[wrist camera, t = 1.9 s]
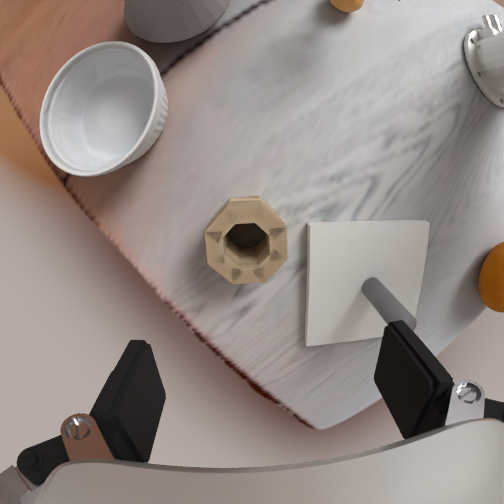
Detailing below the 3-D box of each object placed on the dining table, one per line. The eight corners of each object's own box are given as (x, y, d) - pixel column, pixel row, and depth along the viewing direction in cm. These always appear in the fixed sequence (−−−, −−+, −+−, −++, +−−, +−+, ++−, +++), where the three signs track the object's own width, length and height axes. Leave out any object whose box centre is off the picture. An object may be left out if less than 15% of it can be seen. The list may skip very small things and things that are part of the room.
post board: (307, 222, 30) (335, 253, 20) (423, 219, 30) (478, 244, 20) (304, 339, 35) (321, 398, 25) (406, 325, 35) (443, 371, 25)
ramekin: (124, 42, 24) (98, 20, 17) (204, 101, 26) (191, 85, 20) (57, 131, 26) (21, 129, 20) (125, 196, 29) (96, 207, 23)
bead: (211, 198, 30) (202, 208, 24) (278, 195, 30) (286, 203, 24) (216, 262, 32) (209, 285, 26) (280, 259, 32) (287, 281, 26)
